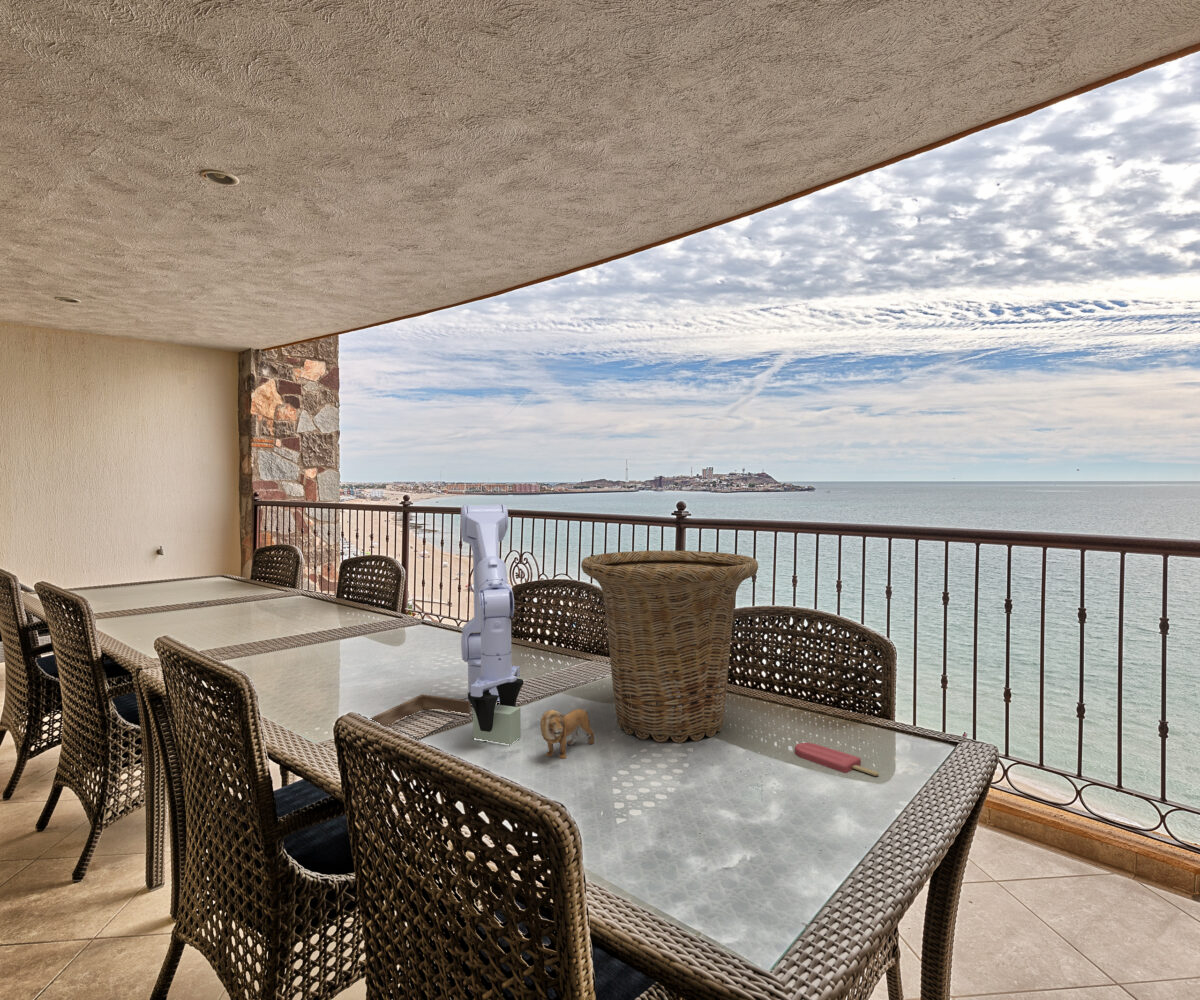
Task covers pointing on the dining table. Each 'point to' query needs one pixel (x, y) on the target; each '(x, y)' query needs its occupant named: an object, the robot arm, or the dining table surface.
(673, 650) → the wicker basket
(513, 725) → the sage block
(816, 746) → the popsicle
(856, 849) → the dining table surface
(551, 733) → the lion figurine
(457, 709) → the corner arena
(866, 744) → the dining table surface
